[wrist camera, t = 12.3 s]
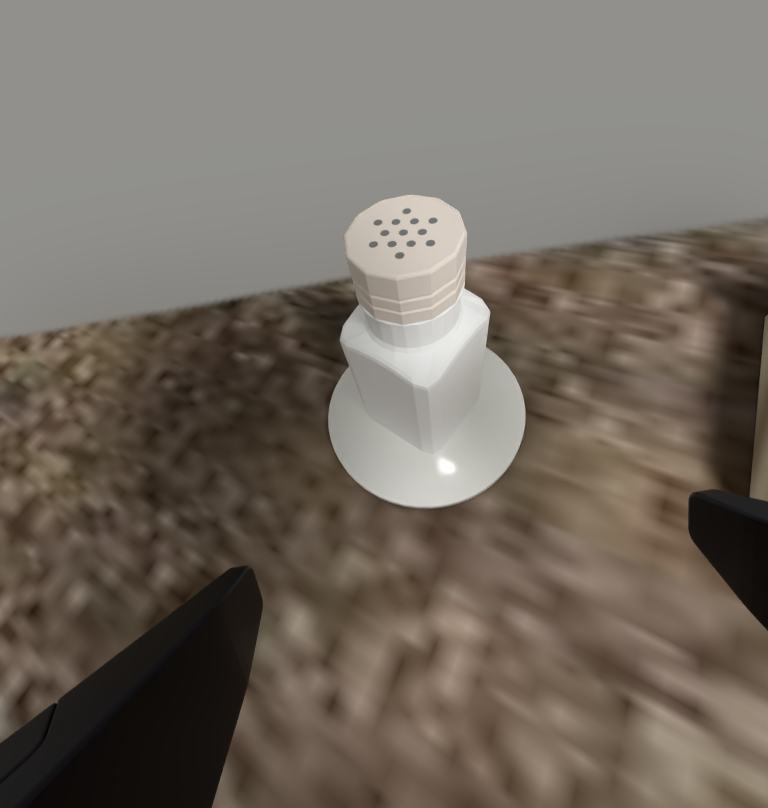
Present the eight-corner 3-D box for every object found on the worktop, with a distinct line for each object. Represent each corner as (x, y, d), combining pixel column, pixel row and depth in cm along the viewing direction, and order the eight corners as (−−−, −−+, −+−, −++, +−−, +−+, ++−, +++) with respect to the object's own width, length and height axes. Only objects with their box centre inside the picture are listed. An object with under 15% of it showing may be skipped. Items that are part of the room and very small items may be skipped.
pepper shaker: (484, 396, 18) (513, 209, 10) (435, 464, 17) (422, 314, 9) (413, 358, 20) (388, 169, 12) (363, 418, 19) (296, 254, 11)
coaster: (394, 552, 16) (392, 550, 16) (301, 395, 21) (297, 390, 20) (567, 435, 18) (571, 429, 17) (446, 311, 22) (445, 303, 21)
